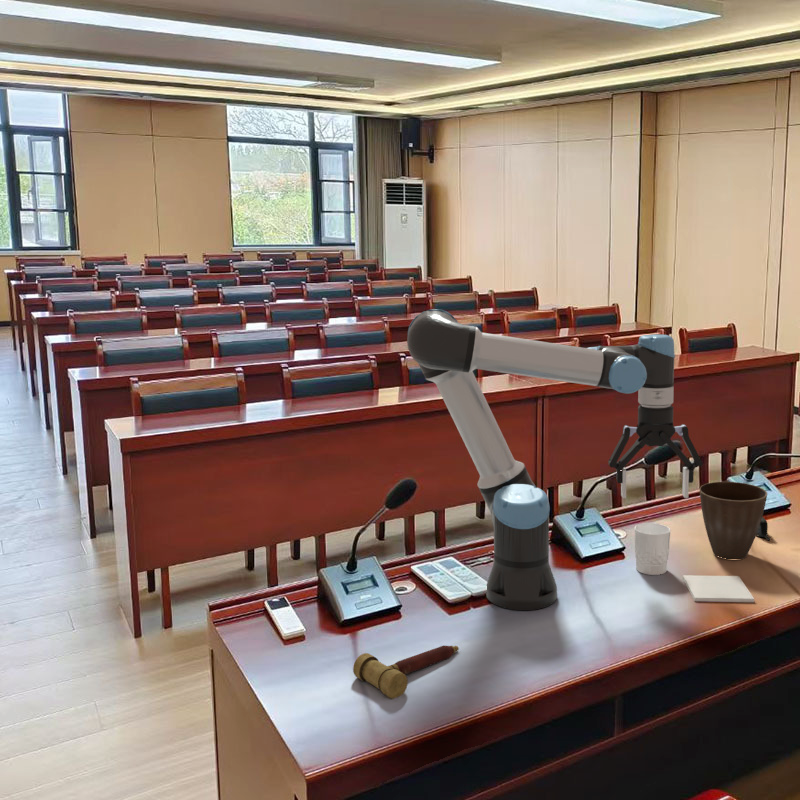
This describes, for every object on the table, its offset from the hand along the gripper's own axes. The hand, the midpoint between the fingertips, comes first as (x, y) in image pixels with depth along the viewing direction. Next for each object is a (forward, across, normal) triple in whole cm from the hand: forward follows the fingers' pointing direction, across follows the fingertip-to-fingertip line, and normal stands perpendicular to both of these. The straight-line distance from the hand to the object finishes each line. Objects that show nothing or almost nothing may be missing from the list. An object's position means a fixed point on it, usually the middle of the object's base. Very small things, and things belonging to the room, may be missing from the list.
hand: (654, 496), depth 193 cm
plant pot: (+18, +20, +10) cm, 28 cm away
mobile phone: (+18, +30, +27) cm, 44 cm away
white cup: (+18, 0, 0) cm, 18 cm away
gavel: (+18, -50, -49) cm, 72 cm away
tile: (+18, +12, -11) cm, 24 cm away
